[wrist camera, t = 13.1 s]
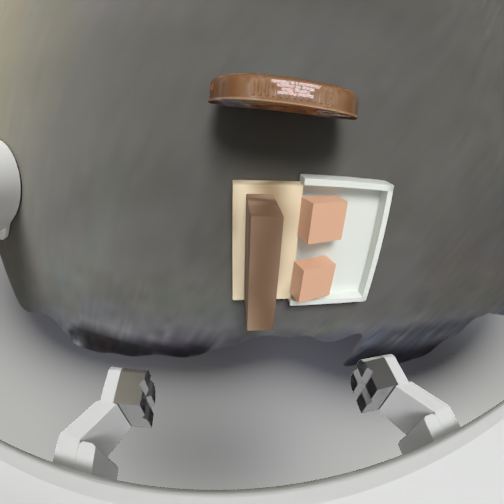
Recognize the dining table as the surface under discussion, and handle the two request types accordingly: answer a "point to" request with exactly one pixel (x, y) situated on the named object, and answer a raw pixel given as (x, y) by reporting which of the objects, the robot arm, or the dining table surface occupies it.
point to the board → (289, 204)
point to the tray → (349, 234)
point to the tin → (283, 95)
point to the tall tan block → (261, 259)
